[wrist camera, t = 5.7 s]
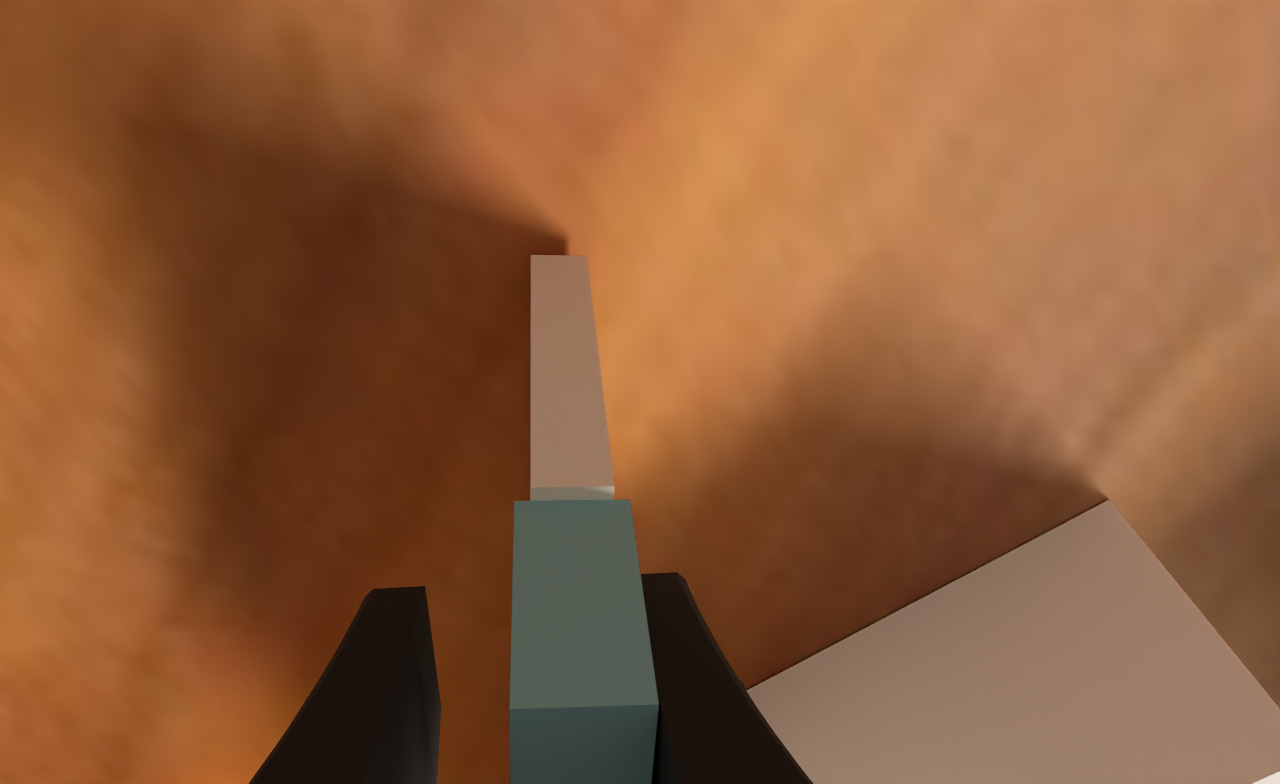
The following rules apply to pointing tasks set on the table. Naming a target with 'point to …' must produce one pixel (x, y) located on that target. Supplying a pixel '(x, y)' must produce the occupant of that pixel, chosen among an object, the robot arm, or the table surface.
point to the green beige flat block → (575, 566)
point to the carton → (1034, 679)
